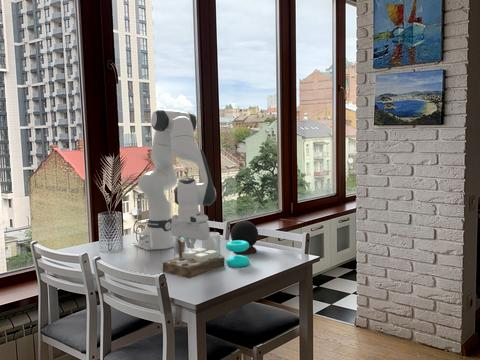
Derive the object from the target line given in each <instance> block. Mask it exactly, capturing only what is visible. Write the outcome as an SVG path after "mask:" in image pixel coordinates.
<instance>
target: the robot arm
mask: <svg viewBox="0 0 480 360" xmlns="http://www.w3.org/2000/svg"><path fill="white" fill-rule="evenodd" d="M197 122H198V120H197V117H196V115H195V114H193V113H191V112H187V111H181V110H177V109H175V110H174V109H163V108H159V109H155V110H154V111H153V112H152V114H151V119H150V124H151V125H150V126H151V128H153V130H155V131H154V134H153V140H152V145H151V153H150V158H151V160H152V162H153V165H154V169H153V170H151V171H150V170H149V171H146V172H145V173H143V174H141V175H140V176H139V177H138V181H137V186H138V188H139V191H141V192H142V193H143V194H144V196H145V199H146V202H147V207H148V208H147V209H148V219H146V220H145V223H147V225H146V227H145V228H144V229H143V230H142V231H141V232H140V233H138V234H139V236H138V241H137V242H135V243H134V246H135V247H138V248H142V249H144V250H146V251H150V250H151V251H152V250H166V249H171V248H174V246H173V241H172V236H177V237H184V240H185V242H186V244H187V245H186V249H191V250H193V249H195V243H196V241H202V240H207V239H208V238H209V236H210V234H209V232H210V225H209V222H208V221H209V217H208V215H206V214H204V213H202V212H201V211H200V208H199V206H211V205H212V204H214V202H215V201H216V200H217V191H216V188H215V186H214V183H213V180H212V176H211V173H210V168H209V165H208V160H207V159H206V155H205V153H204V151H203V149H200V148H199V146H198V145H197V143H196V138H195V131H196V129H197ZM174 156H176V157H177V158H178V159H180V160H183V161H186V162H189V163H192V164H194V165H195V166H197V168H198V169H199V174H200V177H201V181H202V182H201V183H197V181H196V179H195V178H191V177H183V178H180V179H178V176H177V174H176V172H175V170H174ZM176 184H177V186H176ZM175 186H176V187H175ZM173 187H175V188H174V189H173V193H174V201H173V202H174V203H175V204H176V205H178V208H177V212H178V213H177V214H174V215H173V216H172V210H171V203H170V201H169V200H168V199H167V196H166V194H165V191H169V190H171V189H172V188H173Z"/></svg>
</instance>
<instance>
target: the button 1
mask: <svg viewBox="0 0 480 360" xmlns="http://www.w3.org/2000/svg"><path fill="white" fill-rule="evenodd" d="M195 254H197V252H194V251H192V250H186V252H183V253H182V258H184V259H186V260H192V259H194V255H195Z"/></svg>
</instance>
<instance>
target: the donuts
mask: <svg viewBox="0 0 480 360" xmlns="http://www.w3.org/2000/svg"><path fill="white" fill-rule="evenodd" d="M225 248H226V249H227V250H228V251H230V252H242V251H245V250H247V249H248V248H249V243H248V242H246V241H242V240H235V241H232V240H230V241H228V242H227V243H226V245H225ZM226 264H227V266H229V267H231V268H243V267H246V266H248V265H249V264H250V258H249V257H248V256H247V255H239V254H235V255H232V256H229V257H228V258H227V260H226Z"/></svg>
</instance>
